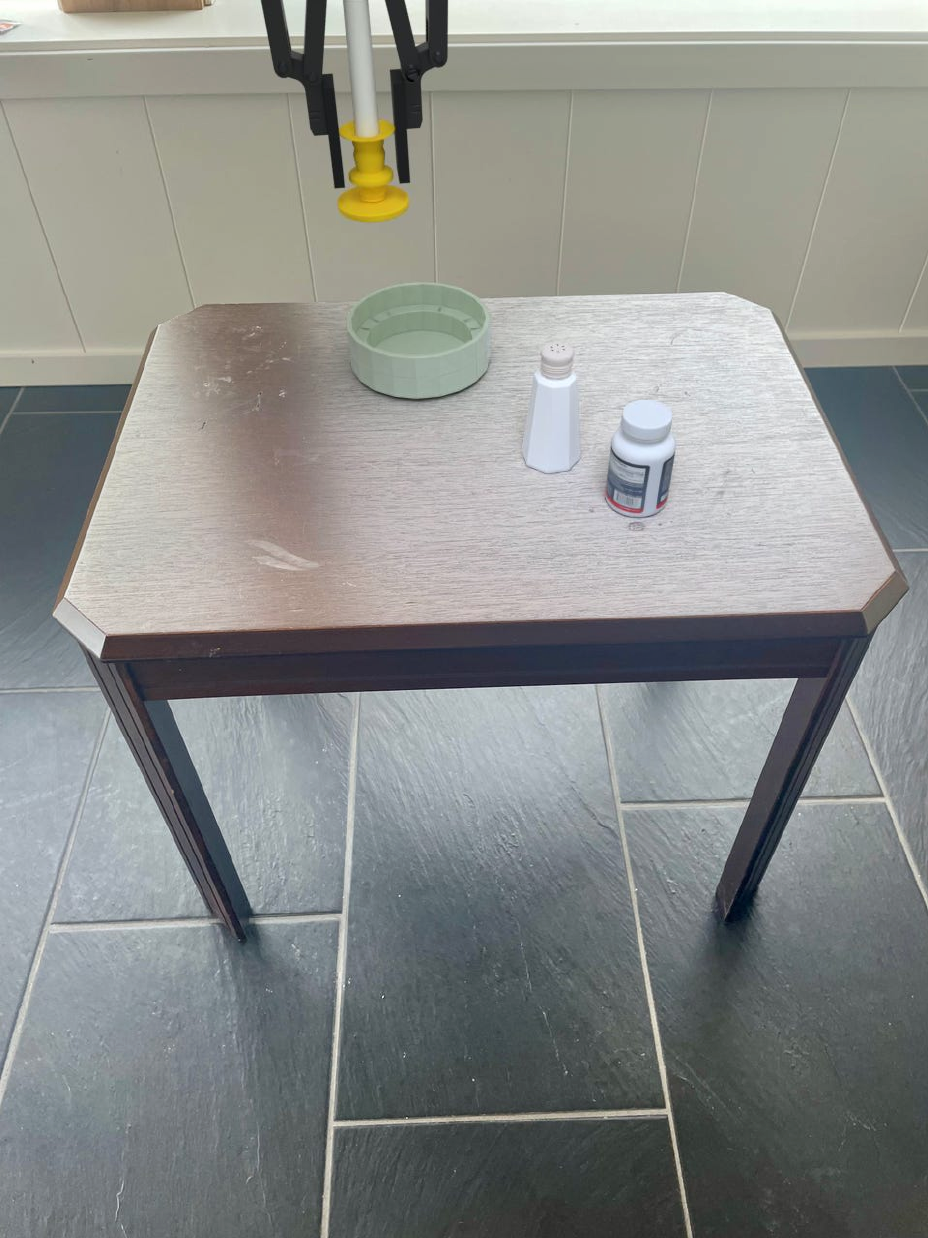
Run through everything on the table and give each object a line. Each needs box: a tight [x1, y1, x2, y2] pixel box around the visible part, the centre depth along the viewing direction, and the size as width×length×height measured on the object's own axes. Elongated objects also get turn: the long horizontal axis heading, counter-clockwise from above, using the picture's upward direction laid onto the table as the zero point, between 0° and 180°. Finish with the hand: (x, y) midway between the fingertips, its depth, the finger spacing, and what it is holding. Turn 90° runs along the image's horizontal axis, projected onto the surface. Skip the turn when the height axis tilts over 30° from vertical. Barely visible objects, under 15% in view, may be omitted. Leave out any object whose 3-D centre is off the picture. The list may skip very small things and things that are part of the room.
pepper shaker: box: [520, 340, 582, 475], centre depth 83 cm, size 5×5×11 cm
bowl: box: [345, 281, 492, 400], centre depth 96 cm, size 14×14×5 cm
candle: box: [337, 0, 410, 223], centre depth 64 cm, size 5×5×16 cm
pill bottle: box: [605, 399, 677, 518], centre depth 80 cm, size 5×5×9 cm
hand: (371, 176), depth 69 cm, fingers closed on candle, 4 cm apart
